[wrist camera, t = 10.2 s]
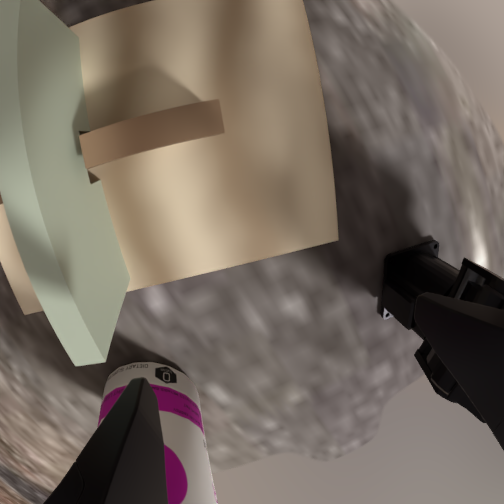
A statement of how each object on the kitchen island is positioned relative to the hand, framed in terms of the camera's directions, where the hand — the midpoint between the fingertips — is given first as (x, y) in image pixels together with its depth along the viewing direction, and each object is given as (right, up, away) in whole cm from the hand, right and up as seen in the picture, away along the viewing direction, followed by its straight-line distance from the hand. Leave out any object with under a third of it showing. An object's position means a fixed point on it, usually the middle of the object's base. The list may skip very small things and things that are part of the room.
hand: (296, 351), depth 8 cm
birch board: (-9, +9, +7) cm, 15 cm away
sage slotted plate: (-11, +8, +6) cm, 15 cm away
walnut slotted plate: (-11, +8, +6) cm, 15 cm away
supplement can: (-10, -9, +14) cm, 20 cm away
